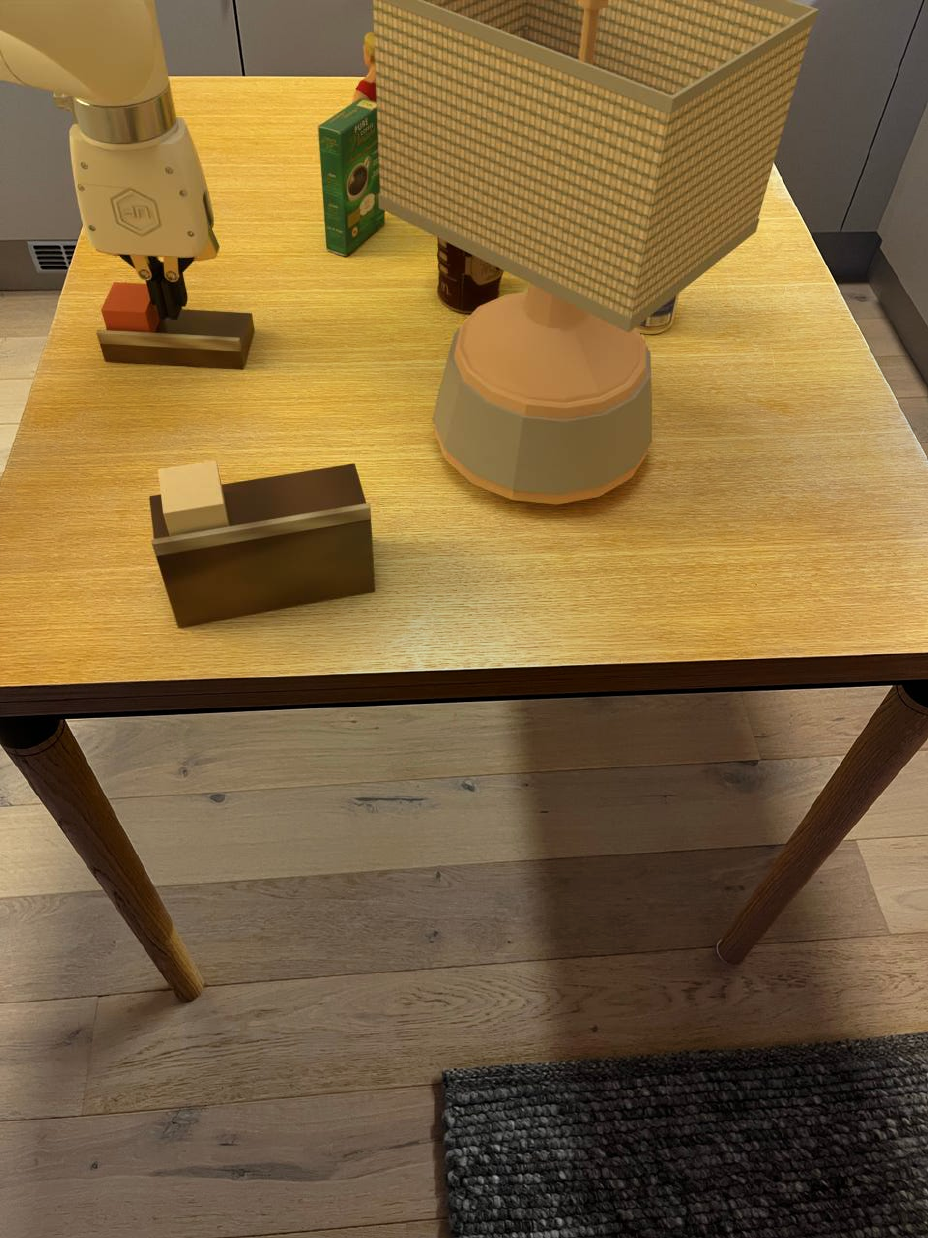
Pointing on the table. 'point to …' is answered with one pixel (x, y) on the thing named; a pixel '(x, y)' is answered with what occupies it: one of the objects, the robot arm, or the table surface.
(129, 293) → the red cube block
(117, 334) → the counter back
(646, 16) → the desk lamp
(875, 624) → the table surface
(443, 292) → the coffee cup
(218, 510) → the tan block
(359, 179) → the coffee box
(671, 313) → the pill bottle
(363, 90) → the action figure
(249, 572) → the counter front
